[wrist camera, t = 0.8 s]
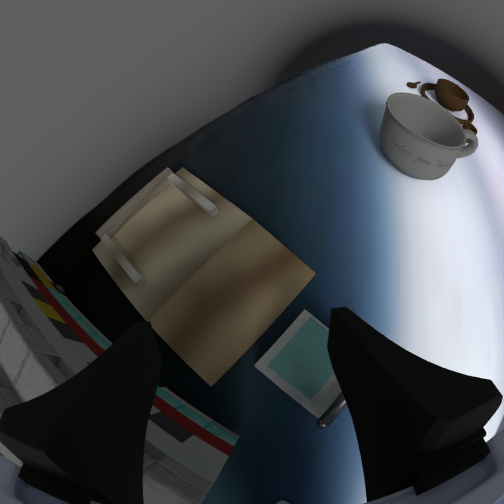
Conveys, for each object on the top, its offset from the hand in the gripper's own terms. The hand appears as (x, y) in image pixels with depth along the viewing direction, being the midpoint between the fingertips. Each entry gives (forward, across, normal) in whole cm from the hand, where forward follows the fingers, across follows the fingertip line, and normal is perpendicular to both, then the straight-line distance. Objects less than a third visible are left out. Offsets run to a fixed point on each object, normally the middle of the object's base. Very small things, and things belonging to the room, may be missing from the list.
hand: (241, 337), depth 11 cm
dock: (+17, +5, +5) cm, 18 cm away
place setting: (+34, -37, -14) cm, 52 cm away
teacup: (+24, -24, -4) cm, 34 cm away
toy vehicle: (+9, +16, +12) cm, 21 cm away
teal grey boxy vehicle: (+8, -5, +11) cm, 14 cm away
